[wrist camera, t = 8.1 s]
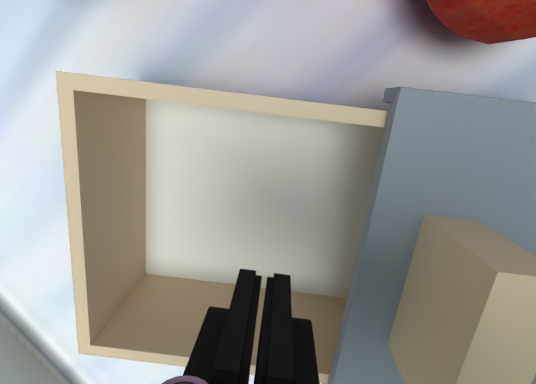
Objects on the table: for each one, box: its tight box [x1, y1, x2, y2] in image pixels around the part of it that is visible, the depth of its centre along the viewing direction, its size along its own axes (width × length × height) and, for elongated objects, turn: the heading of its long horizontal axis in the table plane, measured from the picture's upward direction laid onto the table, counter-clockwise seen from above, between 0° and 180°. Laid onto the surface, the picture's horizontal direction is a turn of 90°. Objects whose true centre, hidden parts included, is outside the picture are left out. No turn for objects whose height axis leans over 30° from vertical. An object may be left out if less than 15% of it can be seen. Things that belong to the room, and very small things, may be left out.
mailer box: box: [56, 71, 388, 384], centre depth 16 cm, size 13×18×7 cm
